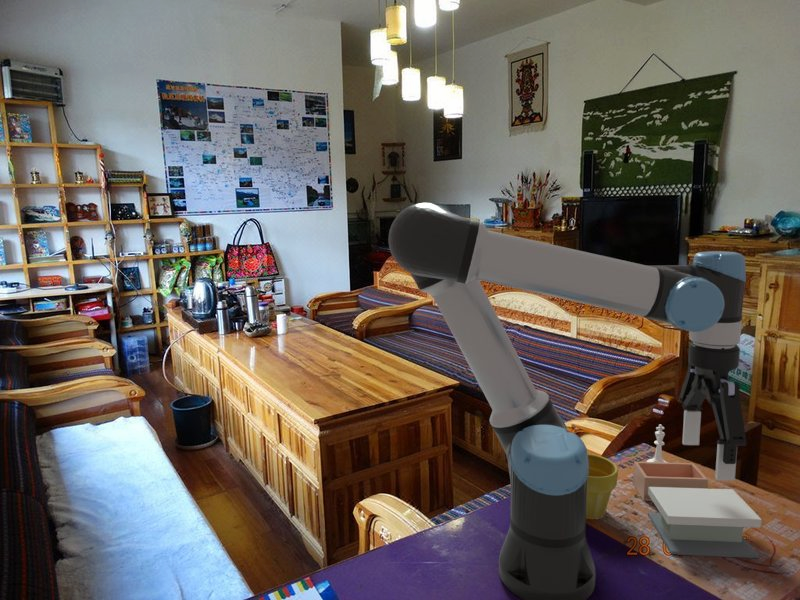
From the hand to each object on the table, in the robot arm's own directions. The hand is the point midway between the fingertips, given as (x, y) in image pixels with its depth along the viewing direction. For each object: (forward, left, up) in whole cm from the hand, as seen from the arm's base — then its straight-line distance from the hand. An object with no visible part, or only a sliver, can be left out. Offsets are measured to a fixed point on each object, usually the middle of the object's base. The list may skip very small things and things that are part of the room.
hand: (706, 460), depth 97 cm
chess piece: (+2, +27, -15) cm, 31 cm away
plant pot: (-18, +7, -15) cm, 24 cm away
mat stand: (0, 0, -14) cm, 14 cm away
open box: (0, +15, -14) cm, 21 cm away
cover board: (0, 0, -9) cm, 9 cm away
